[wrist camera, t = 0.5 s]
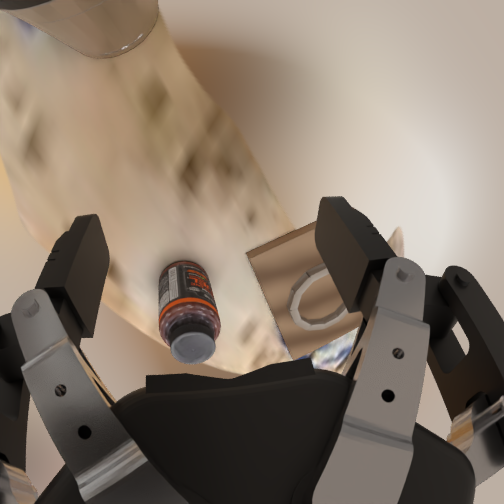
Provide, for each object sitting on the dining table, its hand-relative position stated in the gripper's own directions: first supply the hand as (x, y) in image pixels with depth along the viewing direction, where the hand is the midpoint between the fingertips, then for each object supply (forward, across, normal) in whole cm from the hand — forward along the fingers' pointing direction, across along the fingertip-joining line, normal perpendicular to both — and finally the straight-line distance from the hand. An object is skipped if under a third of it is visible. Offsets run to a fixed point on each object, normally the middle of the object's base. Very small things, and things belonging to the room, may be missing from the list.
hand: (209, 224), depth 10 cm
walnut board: (+17, -14, +24) cm, 32 cm away
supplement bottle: (+17, +3, +19) cm, 25 cm away
